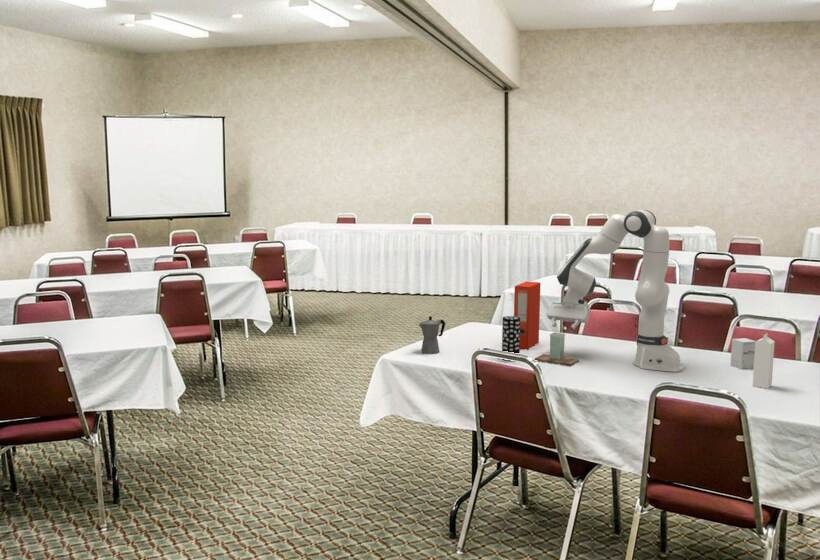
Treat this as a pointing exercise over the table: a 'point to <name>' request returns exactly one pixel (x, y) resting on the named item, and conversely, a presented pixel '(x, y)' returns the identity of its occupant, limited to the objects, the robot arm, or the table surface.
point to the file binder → (528, 312)
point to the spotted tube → (511, 334)
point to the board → (564, 361)
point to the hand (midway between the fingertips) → (563, 327)
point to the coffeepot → (431, 335)
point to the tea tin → (557, 346)
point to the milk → (763, 362)
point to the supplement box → (743, 353)
